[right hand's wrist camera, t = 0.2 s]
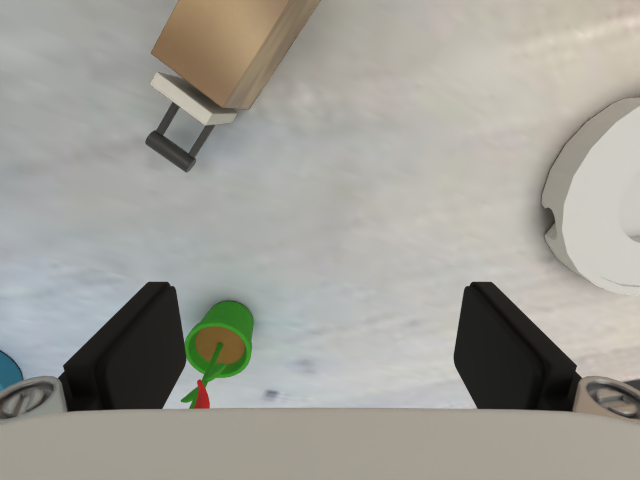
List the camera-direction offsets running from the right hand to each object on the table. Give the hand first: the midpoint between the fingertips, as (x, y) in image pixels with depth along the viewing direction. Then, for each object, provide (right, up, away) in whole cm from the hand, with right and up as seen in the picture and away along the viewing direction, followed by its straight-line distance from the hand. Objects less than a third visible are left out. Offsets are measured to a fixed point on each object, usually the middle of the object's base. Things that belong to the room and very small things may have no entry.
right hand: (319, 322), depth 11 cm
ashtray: (+38, +8, +30) cm, 49 cm away
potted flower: (-12, -8, +36) cm, 39 cm away
